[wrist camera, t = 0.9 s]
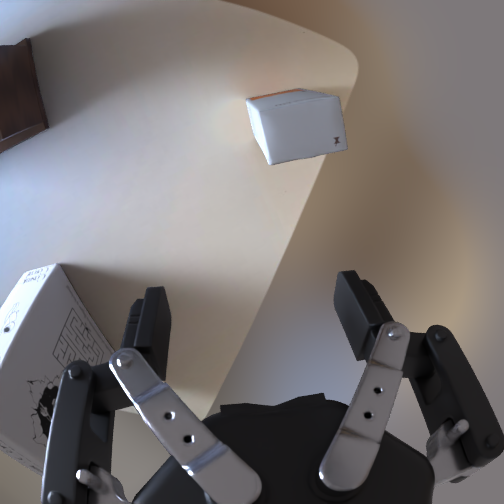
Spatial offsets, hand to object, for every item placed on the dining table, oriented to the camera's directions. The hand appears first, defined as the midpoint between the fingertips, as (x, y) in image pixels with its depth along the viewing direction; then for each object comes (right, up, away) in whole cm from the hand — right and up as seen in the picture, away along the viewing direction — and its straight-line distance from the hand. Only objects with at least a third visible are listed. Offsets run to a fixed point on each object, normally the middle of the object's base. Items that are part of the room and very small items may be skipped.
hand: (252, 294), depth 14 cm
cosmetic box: (+2, +17, +16) cm, 23 cm away
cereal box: (-28, -9, +29) cm, 41 cm away
